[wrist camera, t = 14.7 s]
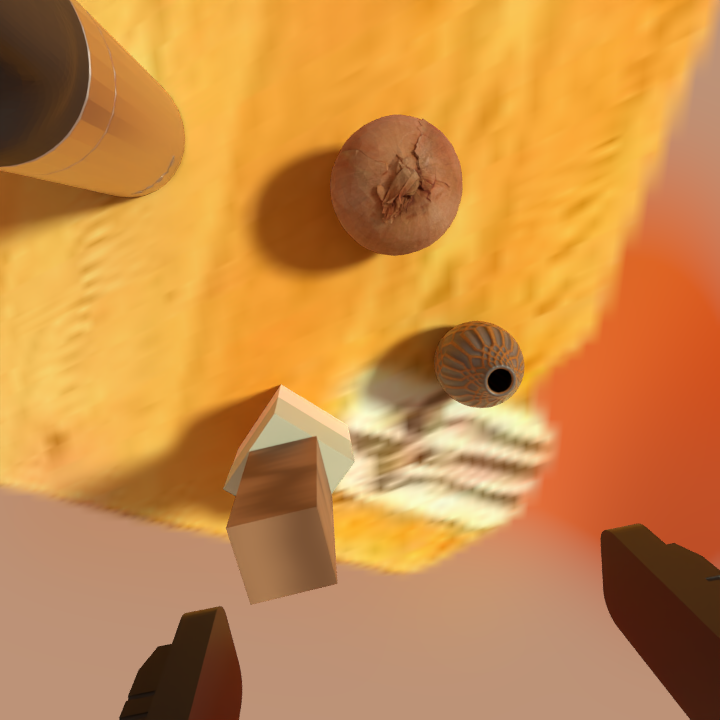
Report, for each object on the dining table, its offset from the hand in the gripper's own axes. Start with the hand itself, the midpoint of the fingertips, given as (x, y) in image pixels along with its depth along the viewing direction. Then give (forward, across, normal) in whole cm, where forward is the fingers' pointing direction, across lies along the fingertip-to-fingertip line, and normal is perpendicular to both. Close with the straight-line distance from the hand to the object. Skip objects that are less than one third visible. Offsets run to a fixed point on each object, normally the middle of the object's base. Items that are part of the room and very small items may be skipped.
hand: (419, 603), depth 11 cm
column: (+26, +6, +9) cm, 28 cm away
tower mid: (+30, +6, +9) cm, 32 cm away
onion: (+34, -6, -10) cm, 36 cm away
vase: (+34, -11, +4) cm, 36 cm away
